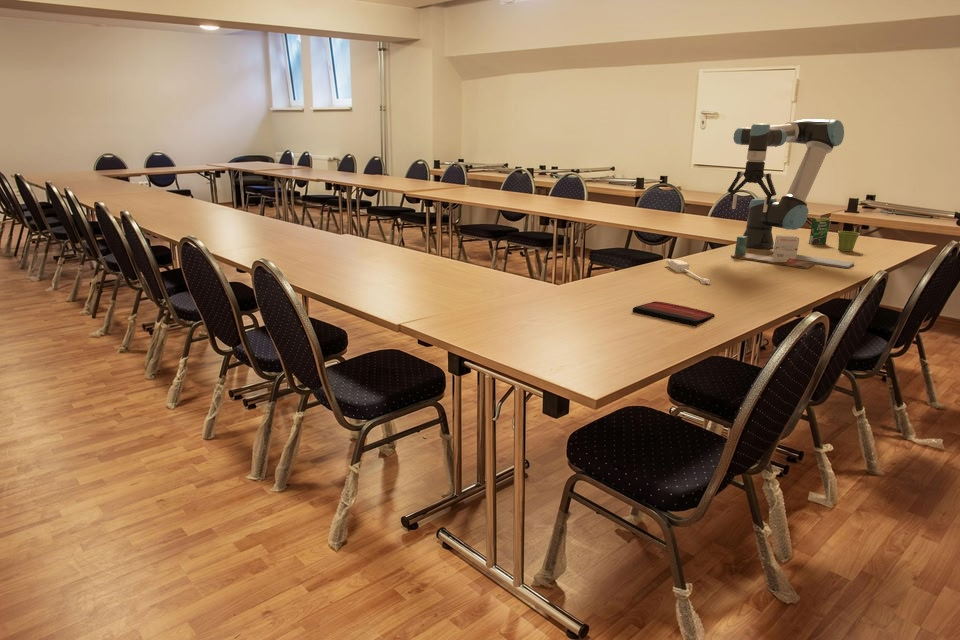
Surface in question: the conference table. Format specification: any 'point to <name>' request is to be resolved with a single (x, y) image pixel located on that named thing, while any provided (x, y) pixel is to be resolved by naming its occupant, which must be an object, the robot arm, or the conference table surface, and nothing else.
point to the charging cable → (684, 269)
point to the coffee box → (819, 230)
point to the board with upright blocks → (741, 253)
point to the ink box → (785, 248)
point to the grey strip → (823, 261)
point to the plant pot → (847, 240)
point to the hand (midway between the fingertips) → (748, 210)
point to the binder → (673, 313)
